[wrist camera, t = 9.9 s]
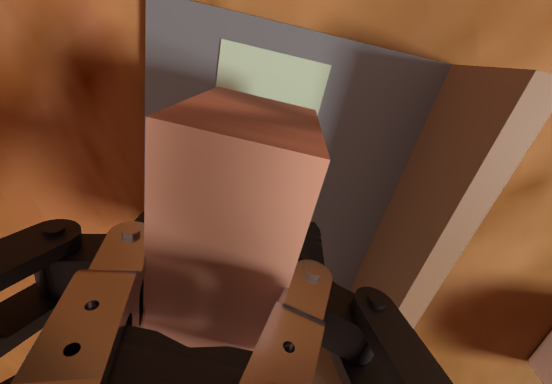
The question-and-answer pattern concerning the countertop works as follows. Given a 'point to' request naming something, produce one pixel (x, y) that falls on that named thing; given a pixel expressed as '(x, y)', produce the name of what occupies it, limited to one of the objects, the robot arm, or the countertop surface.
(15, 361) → the countertop surface
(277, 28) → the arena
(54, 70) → the countertop surface
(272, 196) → the block
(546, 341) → the medicine bottle
